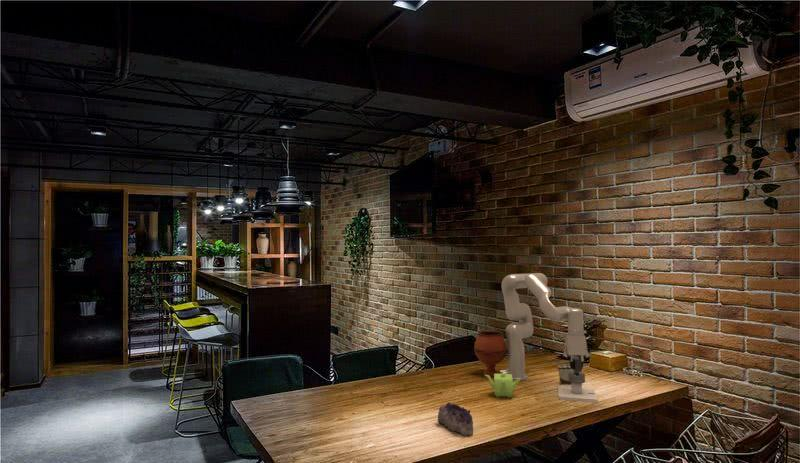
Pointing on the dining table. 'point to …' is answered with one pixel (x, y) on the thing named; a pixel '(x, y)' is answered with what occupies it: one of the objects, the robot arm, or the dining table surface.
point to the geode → (456, 419)
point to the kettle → (503, 384)
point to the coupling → (576, 372)
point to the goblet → (490, 349)
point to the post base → (576, 397)
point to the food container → (564, 374)
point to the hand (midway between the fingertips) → (576, 368)
